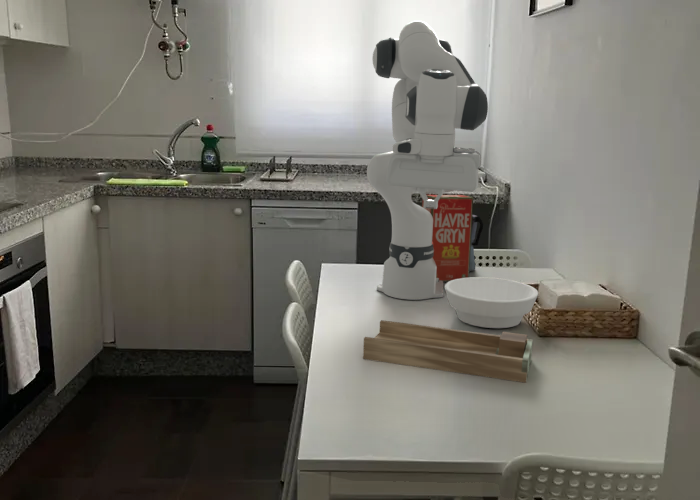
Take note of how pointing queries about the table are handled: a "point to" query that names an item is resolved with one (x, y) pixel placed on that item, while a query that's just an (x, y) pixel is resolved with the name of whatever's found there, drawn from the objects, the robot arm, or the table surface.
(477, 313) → the bowl
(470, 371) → the trap lane
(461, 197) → the food packaging
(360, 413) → the table surface
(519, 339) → the walnut block
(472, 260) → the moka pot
